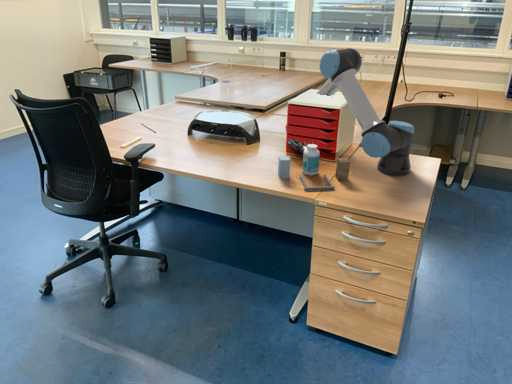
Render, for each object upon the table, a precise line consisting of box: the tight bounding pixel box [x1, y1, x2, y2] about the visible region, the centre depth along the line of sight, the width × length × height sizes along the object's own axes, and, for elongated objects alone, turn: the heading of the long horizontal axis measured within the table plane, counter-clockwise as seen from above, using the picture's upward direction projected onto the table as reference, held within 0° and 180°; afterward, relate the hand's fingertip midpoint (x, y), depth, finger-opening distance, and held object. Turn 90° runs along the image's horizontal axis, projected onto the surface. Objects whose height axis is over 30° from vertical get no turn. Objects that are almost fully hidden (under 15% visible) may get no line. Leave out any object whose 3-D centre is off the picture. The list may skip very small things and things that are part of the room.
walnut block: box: [334, 157, 351, 182], centre depth 190 cm, size 4×4×9 cm
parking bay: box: [299, 174, 336, 192], centre depth 187 cm, size 13×13×1 cm
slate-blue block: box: [277, 155, 292, 180], centre depth 191 cm, size 4×4×9 cm
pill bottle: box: [301, 143, 321, 177], centre depth 194 cm, size 8×7×14 cm
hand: (307, 153), depth 201 cm, fingers closed
